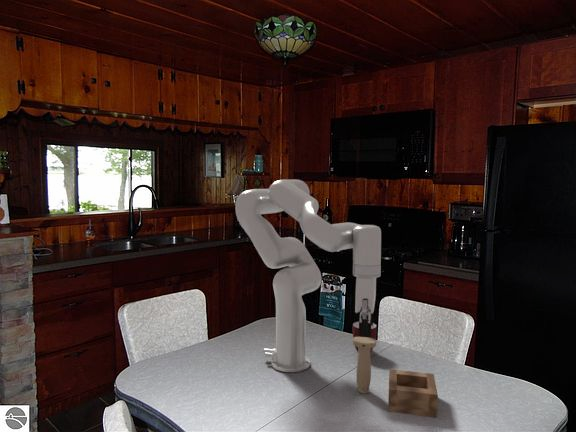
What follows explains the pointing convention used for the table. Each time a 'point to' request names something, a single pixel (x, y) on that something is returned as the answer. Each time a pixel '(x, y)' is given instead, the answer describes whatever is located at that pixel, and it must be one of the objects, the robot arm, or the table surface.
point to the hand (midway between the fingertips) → (366, 330)
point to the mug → (356, 332)
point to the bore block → (412, 393)
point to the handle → (364, 362)
